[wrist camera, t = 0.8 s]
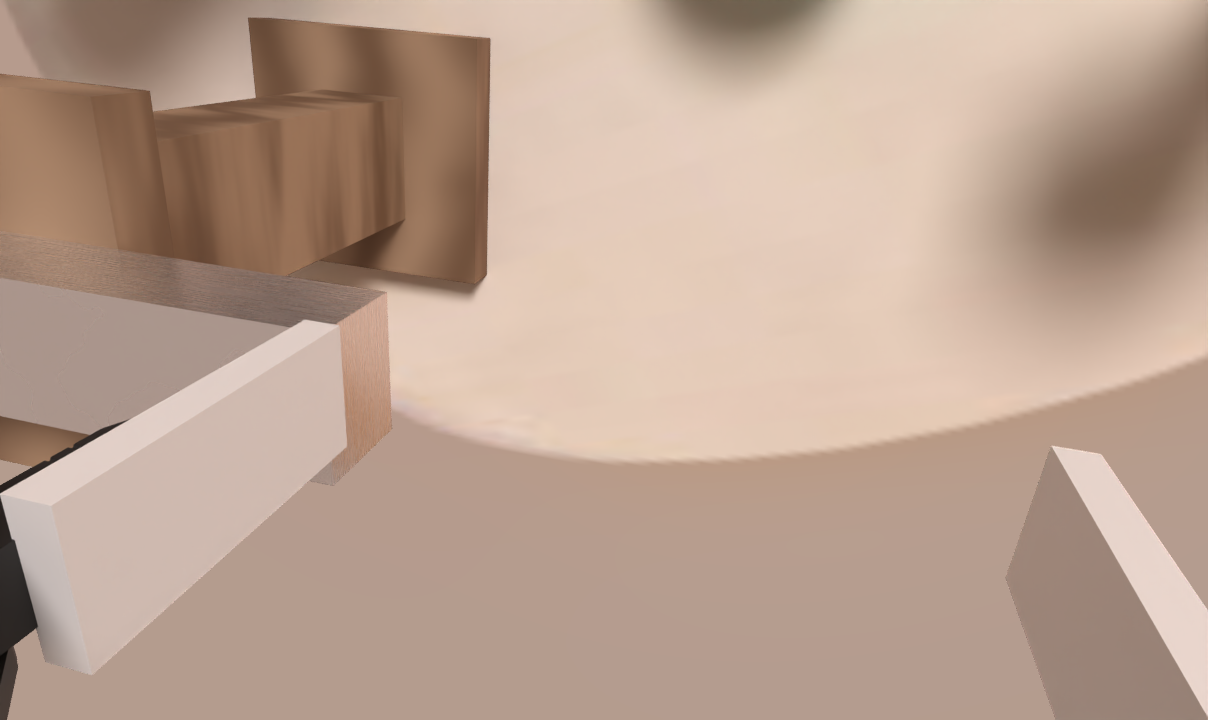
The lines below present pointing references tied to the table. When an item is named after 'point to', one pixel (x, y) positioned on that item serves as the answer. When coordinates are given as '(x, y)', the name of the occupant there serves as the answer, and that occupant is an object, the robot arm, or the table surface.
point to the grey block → (166, 335)
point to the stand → (263, 165)
